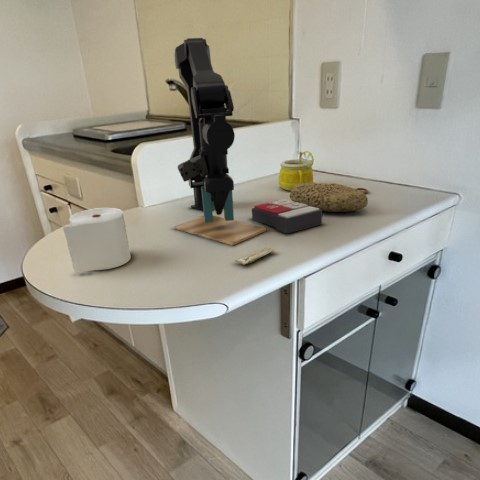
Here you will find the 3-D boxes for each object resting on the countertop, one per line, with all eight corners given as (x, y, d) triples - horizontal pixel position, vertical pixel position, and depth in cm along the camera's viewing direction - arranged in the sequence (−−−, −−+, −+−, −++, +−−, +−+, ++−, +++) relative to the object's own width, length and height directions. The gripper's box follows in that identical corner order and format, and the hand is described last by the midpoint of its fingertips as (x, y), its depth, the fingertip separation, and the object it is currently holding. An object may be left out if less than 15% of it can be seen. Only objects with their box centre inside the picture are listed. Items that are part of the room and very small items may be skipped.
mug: (275, 185, 144) (275, 146, 138) (308, 183, 145) (309, 144, 139) (283, 195, 133) (283, 153, 127) (318, 192, 134) (320, 151, 128)
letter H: (204, 219, 108) (201, 186, 104) (232, 216, 109) (230, 183, 105) (205, 222, 106) (202, 189, 102) (233, 220, 106) (231, 186, 102)
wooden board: (174, 228, 111) (174, 226, 110) (208, 216, 118) (208, 214, 118) (232, 245, 99) (232, 243, 99) (266, 230, 106) (266, 228, 106)
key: (349, 206, 121) (375, 193, 131) (350, 202, 121) (376, 190, 130) (331, 201, 125) (358, 189, 134) (332, 198, 124) (358, 186, 133)
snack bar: (264, 247, 95) (274, 245, 93) (266, 254, 95) (276, 252, 93) (233, 260, 89) (243, 259, 87) (235, 267, 90) (245, 266, 87)
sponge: (285, 212, 122) (340, 212, 107) (285, 183, 120) (341, 178, 105) (319, 211, 130) (374, 211, 114) (320, 183, 128) (376, 179, 112)
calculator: (284, 197, 118) (322, 206, 106) (285, 213, 120) (322, 224, 108) (250, 205, 113) (286, 215, 101) (251, 221, 115) (287, 233, 103)
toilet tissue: (135, 250, 99) (127, 206, 94) (124, 272, 89) (115, 224, 84) (88, 252, 99) (78, 208, 94) (72, 274, 89) (59, 226, 84)
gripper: (176, 140, 106) (183, 204, 114) (178, 153, 90) (186, 227, 98) (222, 137, 107) (226, 201, 115) (232, 149, 91) (235, 223, 99)
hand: (218, 212), depth 106 cm, fingers closed on letter H, 3 cm apart
